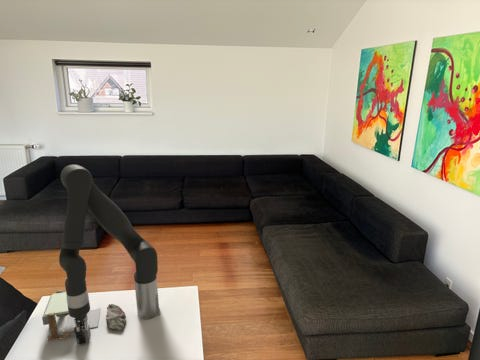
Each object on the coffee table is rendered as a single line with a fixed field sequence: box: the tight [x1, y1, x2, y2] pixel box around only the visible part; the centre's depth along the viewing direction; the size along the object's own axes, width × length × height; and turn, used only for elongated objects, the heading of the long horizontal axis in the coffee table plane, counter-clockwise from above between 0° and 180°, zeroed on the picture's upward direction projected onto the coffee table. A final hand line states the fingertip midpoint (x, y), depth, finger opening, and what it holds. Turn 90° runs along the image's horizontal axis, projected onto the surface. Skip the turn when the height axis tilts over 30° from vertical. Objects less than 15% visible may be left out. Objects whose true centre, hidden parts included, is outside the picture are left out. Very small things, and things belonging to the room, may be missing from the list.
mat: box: [62, 308, 101, 334], centre depth 147 cm, size 13×12×1 cm
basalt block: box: [74, 322, 92, 345], centre depth 136 cm, size 4×4×6 cm
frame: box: [47, 289, 72, 342], centre depth 143 cm, size 8×18×12 cm, turn 16°
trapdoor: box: [41, 291, 69, 326], centre depth 142 cm, size 12×14×5 cm
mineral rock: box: [105, 303, 127, 331], centre depth 147 cm, size 15×8×4 cm, turn 16°
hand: (83, 338), depth 136 cm, fingers open, 5 cm apart
